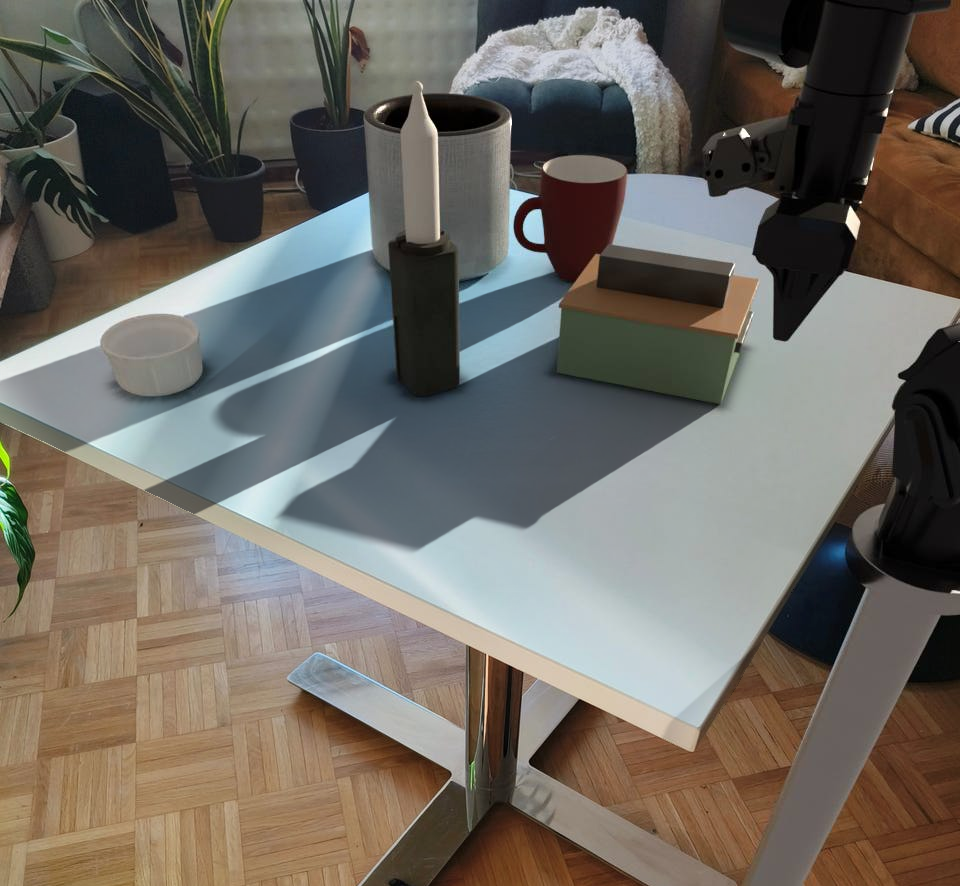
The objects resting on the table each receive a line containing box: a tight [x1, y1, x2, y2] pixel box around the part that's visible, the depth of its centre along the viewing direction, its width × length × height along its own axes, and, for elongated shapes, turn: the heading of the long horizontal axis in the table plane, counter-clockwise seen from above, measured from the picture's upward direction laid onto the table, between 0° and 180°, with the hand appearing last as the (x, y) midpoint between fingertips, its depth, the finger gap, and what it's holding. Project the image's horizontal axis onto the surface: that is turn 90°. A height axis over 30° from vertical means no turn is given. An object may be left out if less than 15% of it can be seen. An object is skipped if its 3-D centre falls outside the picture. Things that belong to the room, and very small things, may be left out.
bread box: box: [556, 254, 760, 405], centre depth 87 cm, size 17×12×7 cm
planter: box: [363, 92, 512, 282], centre depth 101 cm, size 16×16×16 cm
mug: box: [513, 154, 628, 283], centre depth 99 cm, size 12×9×11 cm
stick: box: [597, 244, 736, 308], centre depth 83 cm, size 12×3×3 cm, turn 69°
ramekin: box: [99, 313, 204, 397], centre depth 84 cm, size 9×9×4 cm
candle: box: [388, 80, 461, 397], centre depth 77 cm, size 5×5×25 cm
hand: (788, 314), depth 70 cm, fingers open, 9 cm apart
